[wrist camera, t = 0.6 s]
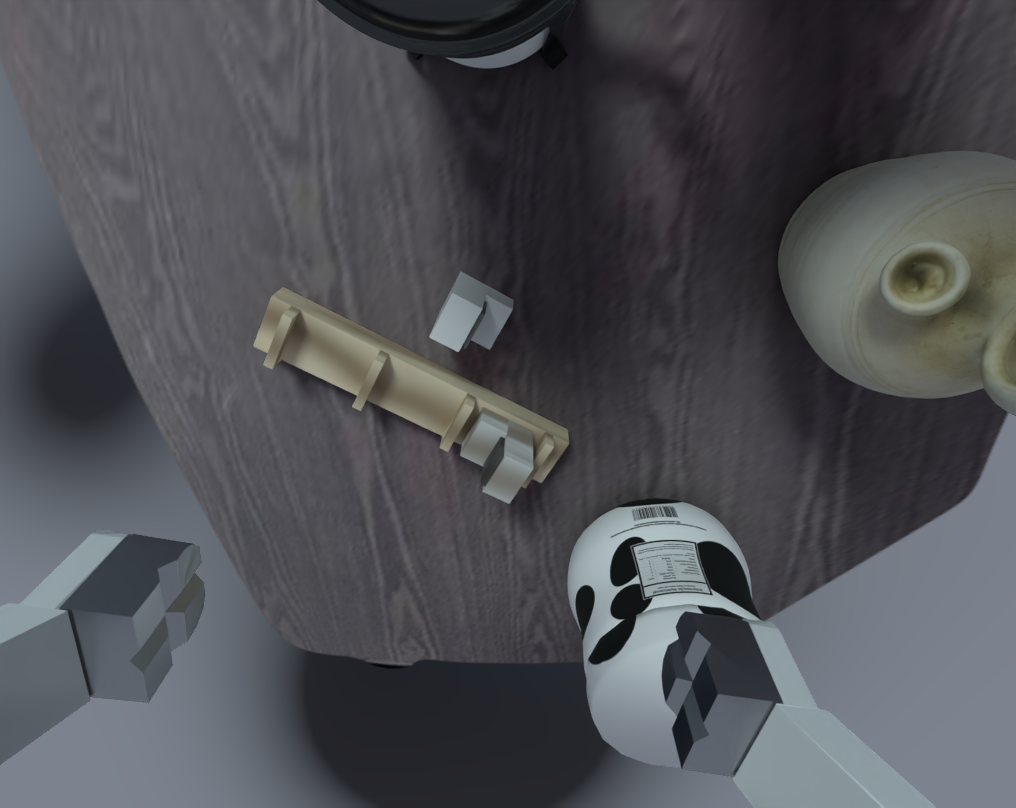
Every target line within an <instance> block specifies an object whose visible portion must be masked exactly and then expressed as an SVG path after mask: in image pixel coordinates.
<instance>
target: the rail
mask: <svg viewBox="0 0 1016 808" xmlns="http://www.w3.org/2000/svg"><path fill="white" fill-rule="evenodd" d="M254 347H256V348H258V349H260V350H262V351H264V352H266V353H268V354H267V356H266V359H265V361H264V364H263V365H264V366H266V367H268V368H270V369H272V370H273V368H274V367H275V366H276V365H277V364H278V363H279V362H280V361H281V360H283V361H285V362H287V363H289V364H291V365H294V366H296V367H298V368H300V369H302V370H304V371H306V372H308V373H310V374H312V375H315V376H317V377H319V378H321V379H323V380H325V381H327V382H329V383H331V384H334V385H336V386H338V387H340V388H342V389H344V390H346V391H348V392H350V393H352V394H355V395H357V397H356V399H355V402H354V404H353V406H352V407H353V408H355V409H357V410H360V411H361V410H362V408H363V406H364V404H365V402H366V400H367V401H369V402H371V403H374V404H376V405H378V406H380V407H382V408H384V409H386V410H388V411H390V412H393V413H395V414H397V415H399V416H401V417H403V418H405V419H407V420H409V421H411V422H414V423H416V424H418V425H420V426H422V427H424V428H426V429H428V430H430V431H433V432H435V433H437V434H439V435H441V436H442V440H441V444H440V448H441V449H443V450H445V451H447V452H448V451H449V449H450V447H451V446H452V444H453V442H456V443H458V444H460V445H462V447H461V453H460V456H462V457H464V458H466V459H468V460H470V461H472V462H475V463H477V464H479V465H481V466H483V471H482V479H481V485H483V492H485V493H487V494H489V495H491V496H493V497H496V498H498V499H500V500H502V501H504V502H506V503H509V504H510V502H511V501H512V499H513V498H514V496H515V495H516V493H517V492H518V491H519V489H520V488H521V487H524V488H526V487H527V486H528V484H529V483H530V481H531V480H532V479H534V480H536V481H538V482H540V483H542V482H543V480H544V479H545V477H546V476H547V475H548V473H549V472H550V470H551V469H552V467H553V466H554V465H555V463H556V462H557V460H558V459H559V458H560V456H561V455H562V453H563V452H564V451H565V449H566V448H567V446H568V445H569V436H568V430H567V429H565V428H563V427H561V426H559V425H557V424H555V423H553V422H551V421H550V420H548V419H546V418H544V417H542V416H540V415H538V414H536V413H534V412H532V411H530V410H528V409H526V408H524V407H522V406H520V405H518V404H516V403H514V402H512V401H510V400H508V399H506V398H504V397H502V396H500V395H498V394H496V393H494V392H492V391H490V390H488V389H486V388H484V387H482V386H480V385H478V384H476V383H474V382H472V381H470V380H468V379H466V378H464V377H462V376H460V375H458V374H456V373H454V372H452V371H450V370H448V369H446V368H444V367H442V366H440V365H438V364H436V363H434V362H432V361H430V360H428V359H426V358H424V357H422V356H420V355H418V354H416V353H414V352H412V351H410V350H408V349H406V348H404V347H402V346H400V345H398V344H396V343H394V342H392V341H390V340H388V339H386V338H384V337H382V336H380V335H378V334H376V333H374V332H372V331H370V330H368V329H366V328H364V327H362V326H360V325H358V324H356V323H354V322H352V321H350V320H348V319H346V318H344V317H342V316H340V315H338V314H336V313H334V312H332V311H330V310H328V309H326V308H324V307H322V306H320V305H318V304H316V303H314V302H312V301H310V300H308V299H306V298H304V297H302V296H300V295H298V294H296V293H294V292H292V291H290V290H288V289H286V288H284V287H283V288H281V289H280V290H279V291H277V292H276V293H275V294H274V295H272V296H271V299H270V302H269V305H268V307H267V310H266V313H265V316H264V318H263V321H262V324H261V326H260V329H259V332H258V335H257V337H256V340H255V343H254Z"/></svg>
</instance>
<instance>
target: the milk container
mask: <svg viewBox="0 0 1016 808" xmlns="http://www.w3.org/2000/svg"><path fill="white" fill-rule="evenodd" d="M567 583H568V596H569V601H570V606H571V609H572V612H573V615H574V617H575V620H576V622H577V624H578V626H579V629H580V631H581V634H582V641H583V657H584V669H585V675H586V678H587V698H588V702H589V707H590V712H591V715H592V718H593V721H594V722H595V725H596V726H597V728H598V730H599V732H600V734H601V736H602V738H603V740H605V741H606V742H607V743H609V744H610V745H611V746H612V747H614V748H615V749H616V750H618V751H619V752H620V753H621V754H623V755H625V756H628V757H631V758H634V759H636V760H639V761H642V762H644V763H647V764H652V765H660V766H669V767H677V768H681V765H680V761H679V757H678V753H677V749H676V744H675V740H674V736H673V732H672V727H673V725H674V722H675V720H676V718H677V716H676V714H675V713H674V712H673V711H672V710H671V709H670V708H669V706H668V705H667V704H666V703H665V698H664V693H663V689H662V677H661V675H662V665H663V658H664V655H665V653H666V650H667V647H668V645H670V644H671V643H673V642H674V641H676V640H677V639H679V638H678V634H677V631H676V625H677V622H678V620H679V618H680V616H681V615H682V614H683V613H684V612H685V611H686V612H694V613H702V614H710V615H718V616H725V617H733V618H740V619H750V620H758V621H761V619H760V617H759V615H758V613H757V611H756V608H755V606H754V604H753V600H752V591H751V580H750V574H749V570H748V567H747V563H746V561H745V558H744V556H743V554H742V552H741V550H740V548H739V546H738V545H737V543H736V541H735V540H734V538H733V537H732V536H731V534H730V533H729V532H728V531H727V530H726V528H725V527H724V526H723V525H722V524H721V523H720V522H719V521H718V520H717V519H716V518H715V517H713V516H712V515H710V514H709V513H707V512H706V511H704V510H702V509H700V508H698V507H695V506H693V505H691V504H688V503H686V502H682V501H676V500H669V499H659V498H655V499H645V500H639V501H633V502H628V503H626V504H623V505H620V506H618V507H616V508H614V509H611V510H609V511H607V512H606V513H604V514H602V515H601V516H599V517H598V518H597V519H596V520H595V521H594V522H592V523H591V524H590V525H589V526H588V527H587V528H586V529H585V530H584V532H583V533H582V534H581V536H580V537H579V539H578V540H577V542H576V544H575V546H574V548H573V551H572V554H571V558H570V563H569V569H568V581H567Z"/></svg>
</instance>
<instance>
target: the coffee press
mask: <svg viewBox="0 0 1016 808" xmlns="http://www.w3.org/2000/svg"><path fill="white" fill-rule="evenodd" d="M318 1H319V2H320V3H321V4H322V5H323V6H325V7H326V8H327V9H328V10H329V11H331V12H332V13H333V14H335V15H336V16H337V17H339V18H340V19H341V20H343V21H344V22H346V23H347V24H349V25H350V26H352V27H354V28H355V29H357V30H359V31H360V32H362V33H364V34H366V35H368V36H370V37H372V38H374V39H376V40H379V41H381V42H383V43H386V44H389V45H391V46H394V47H397V48H400V49H403V50H407V51H408V53H409V54H410V55H411V56H412V57H413V59H414V60H415V61H417V60H418V59H420V58H421V57H422V56H423V55H424V54H427V55H434V56H439V57H445V58H447V59H449V60H452V61H454V62H457V63H459V64H462V65H466V66H470V67H475V68H499V67H504V66H508V65H511V64H514V63H517V62H519V61H521V60H523V59H525V58H527V57H529V56H530V55H532V54H534V53H535V52H536V51H539V52H540V54H541V55H542V57H543V58H544V60H545V61H546V62H547V64H548V65H549V66H550V67H551V69H552V70H553V69H554V68H555V67H556V66H557V65H558V64H559V63H560V62H561V61H562V60H563V59H564V58H566V57H567V56H568V55H567V53H566V51H565V49H564V48H563V46H562V44H561V42H560V40H559V34H560V32H561V30H562V28H563V27H564V25H565V24H566V22H567V21H568V19H569V17H570V16H571V14H572V12H573V10H574V8H575V6H576V4H577V2H578V0H577V1H576V3H575V5H574V7H573V3H574V1H575V0H318ZM572 7H573V9H572ZM571 9H572V11H571ZM570 11H571V13H570ZM569 13H570V14H569ZM568 15H569V16H568ZM567 17H568V18H567Z"/></svg>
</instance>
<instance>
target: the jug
mask: <svg viewBox="0 0 1016 808" xmlns="http://www.w3.org/2000/svg"><path fill="white" fill-rule="evenodd" d="M778 272H779V277H780V281H781V285H782V289H783V293H784V295H785V298H786V300H787V303H788V305H789V307H790V310H791V312H792V314H793V317H794V319H795V320H796V322H797V324H798V326H799V328H800V329H801V331H802V333H803V334H804V336H805V338H806V339H807V341H808V342H809V344H810V345H811V347H812V348H813V349H814V351H815V352H816V353H817V354H818V356H819V357H820V358H821V359H822V360H823V361H824V362H825V363H826V364H827V365H828V366H829V367H831V368H832V369H833V370H834V371H836V372H837V373H839V374H840V375H842V376H843V377H845V378H846V379H848V380H850V381H852V382H854V383H856V384H858V385H861V386H863V387H865V388H868V389H871V390H874V391H877V392H881V393H885V394H889V395H894V396H900V397H910V398H945V397H952V396H957V395H962V394H966V393H969V392H973V391H976V390H979V389H982V388H985V390H986V392H987V394H988V395H989V396H990V398H991V399H992V400H993V401H994V402H995V403H996V404H997V405H998V406H1000V407H1001V408H1002V409H1004V410H1005V411H1007V412H1009V413H1011V414H1013V415H1015V416H1016V160H1013V159H1010V158H1006V157H1003V156H998V155H994V154H989V153H984V152H976V151H948V152H937V153H929V154H921V155H915V156H909V157H904V158H897V159H889V160H883V161H878V162H874V163H870V164H867V165H864V166H861V167H857V168H854V169H851V170H848V171H845V172H843V173H841V174H838V175H836V176H834V177H833V178H831V179H829V180H828V181H826V182H825V183H823V184H822V185H821V186H819V187H818V188H817V189H816V190H814V191H813V192H812V193H811V194H810V195H809V196H808V197H807V198H806V199H805V200H804V201H803V202H802V204H801V205H800V206H799V207H798V209H797V210H796V211H795V213H794V214H793V216H792V217H791V219H790V221H789V223H788V224H787V226H786V229H785V231H784V234H783V237H782V240H781V244H780V248H779V253H778Z"/></svg>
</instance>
